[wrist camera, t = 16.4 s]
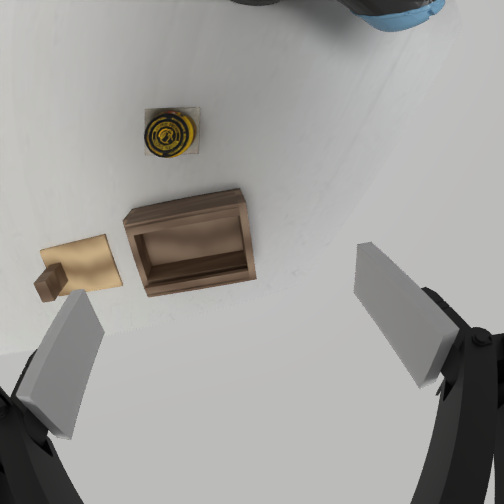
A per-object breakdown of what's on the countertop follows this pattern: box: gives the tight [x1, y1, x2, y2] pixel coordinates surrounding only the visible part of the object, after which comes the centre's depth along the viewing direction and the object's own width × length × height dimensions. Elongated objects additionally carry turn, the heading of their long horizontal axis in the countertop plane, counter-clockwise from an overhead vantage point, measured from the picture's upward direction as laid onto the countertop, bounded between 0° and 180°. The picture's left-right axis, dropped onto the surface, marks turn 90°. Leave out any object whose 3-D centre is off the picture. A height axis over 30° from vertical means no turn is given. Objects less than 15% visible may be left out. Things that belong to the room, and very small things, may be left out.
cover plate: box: [34, 234, 123, 302], centre depth 44 cm, size 10×15×8 cm, turn 97°
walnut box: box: [123, 188, 257, 297], centre depth 44 cm, size 12×18×8 cm, turn 97°
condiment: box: [144, 107, 200, 158], centre depth 35 cm, size 7×8×12 cm
